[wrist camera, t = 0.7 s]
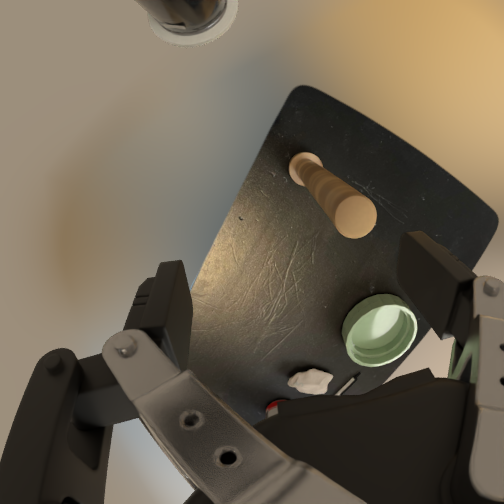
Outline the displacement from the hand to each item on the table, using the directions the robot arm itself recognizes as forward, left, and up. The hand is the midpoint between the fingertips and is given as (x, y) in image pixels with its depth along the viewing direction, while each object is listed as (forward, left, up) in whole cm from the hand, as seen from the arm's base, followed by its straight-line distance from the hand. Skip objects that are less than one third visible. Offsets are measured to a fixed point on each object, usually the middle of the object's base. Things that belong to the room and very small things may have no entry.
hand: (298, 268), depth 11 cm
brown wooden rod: (+3, +3, -32) cm, 33 cm away
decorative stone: (+34, -16, -33) cm, 50 cm away
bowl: (+31, -1, -32) cm, 45 cm away
